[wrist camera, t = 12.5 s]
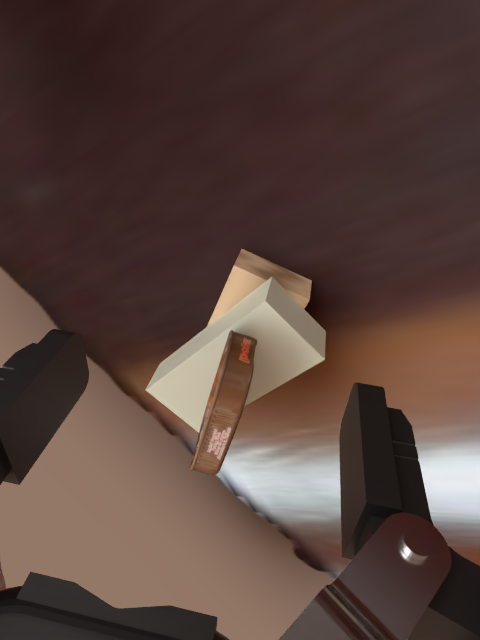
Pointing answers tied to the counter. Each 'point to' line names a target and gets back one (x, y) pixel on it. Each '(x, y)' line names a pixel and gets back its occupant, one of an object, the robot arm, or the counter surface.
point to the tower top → (269, 359)
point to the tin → (225, 403)
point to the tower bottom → (258, 282)
